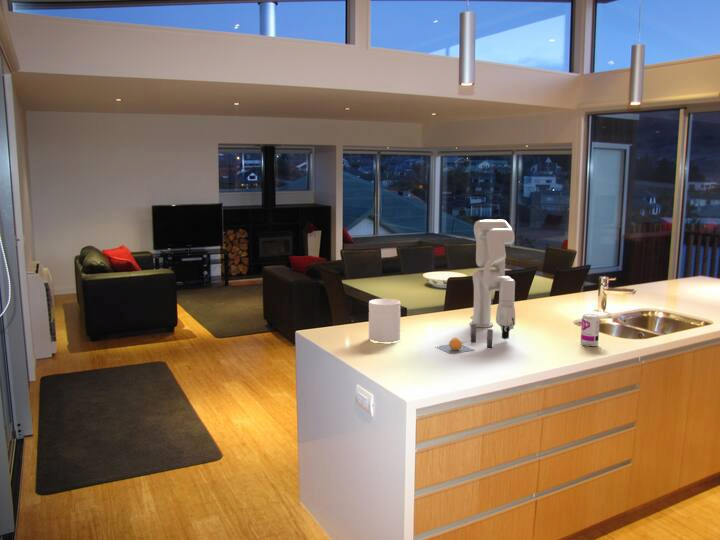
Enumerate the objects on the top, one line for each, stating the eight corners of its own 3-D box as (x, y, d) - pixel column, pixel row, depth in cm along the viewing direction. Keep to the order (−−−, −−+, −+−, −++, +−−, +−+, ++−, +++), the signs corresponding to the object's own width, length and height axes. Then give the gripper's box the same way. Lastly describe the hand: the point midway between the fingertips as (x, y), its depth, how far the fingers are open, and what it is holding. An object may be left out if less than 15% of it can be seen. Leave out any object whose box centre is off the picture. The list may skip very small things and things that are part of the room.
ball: (444, 342, 303) (453, 334, 305) (450, 352, 305) (458, 344, 307) (452, 344, 298) (460, 336, 300) (458, 354, 299) (466, 345, 302)
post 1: (469, 341, 319) (470, 324, 318) (473, 340, 320) (474, 323, 319) (472, 342, 317) (473, 325, 316) (476, 341, 318) (477, 324, 317)
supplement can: (587, 347, 308) (588, 317, 305) (577, 343, 315) (578, 314, 313) (601, 346, 310) (603, 316, 308) (591, 342, 318) (592, 313, 315)
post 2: (485, 347, 308) (486, 329, 306) (489, 346, 309) (490, 329, 307) (488, 348, 305) (489, 330, 304) (493, 348, 306) (493, 330, 305)
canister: (373, 345, 312) (374, 305, 309) (365, 337, 327) (365, 299, 324) (404, 343, 316) (404, 303, 313) (394, 335, 331) (394, 298, 328)
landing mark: (434, 346, 309) (434, 346, 309) (458, 343, 315) (458, 343, 315) (450, 353, 297) (450, 353, 297) (474, 350, 303) (474, 349, 303)
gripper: (491, 301, 322) (490, 336, 324) (510, 306, 308) (509, 342, 311) (502, 299, 325) (501, 334, 327) (522, 305, 312) (520, 341, 314)
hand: (505, 338), depth 319 cm, fingers closed
